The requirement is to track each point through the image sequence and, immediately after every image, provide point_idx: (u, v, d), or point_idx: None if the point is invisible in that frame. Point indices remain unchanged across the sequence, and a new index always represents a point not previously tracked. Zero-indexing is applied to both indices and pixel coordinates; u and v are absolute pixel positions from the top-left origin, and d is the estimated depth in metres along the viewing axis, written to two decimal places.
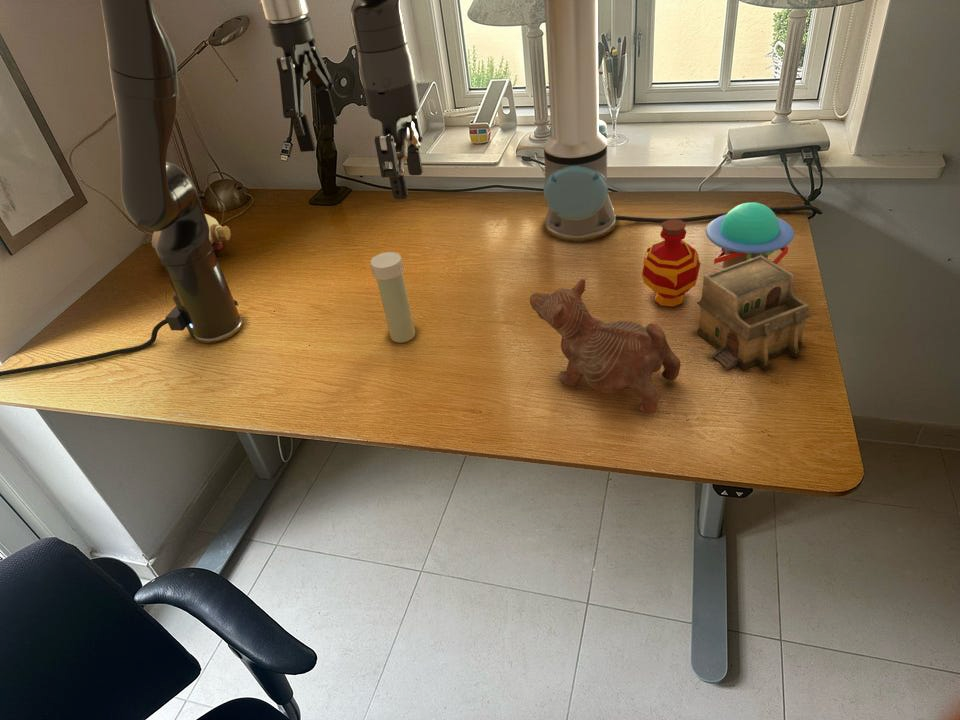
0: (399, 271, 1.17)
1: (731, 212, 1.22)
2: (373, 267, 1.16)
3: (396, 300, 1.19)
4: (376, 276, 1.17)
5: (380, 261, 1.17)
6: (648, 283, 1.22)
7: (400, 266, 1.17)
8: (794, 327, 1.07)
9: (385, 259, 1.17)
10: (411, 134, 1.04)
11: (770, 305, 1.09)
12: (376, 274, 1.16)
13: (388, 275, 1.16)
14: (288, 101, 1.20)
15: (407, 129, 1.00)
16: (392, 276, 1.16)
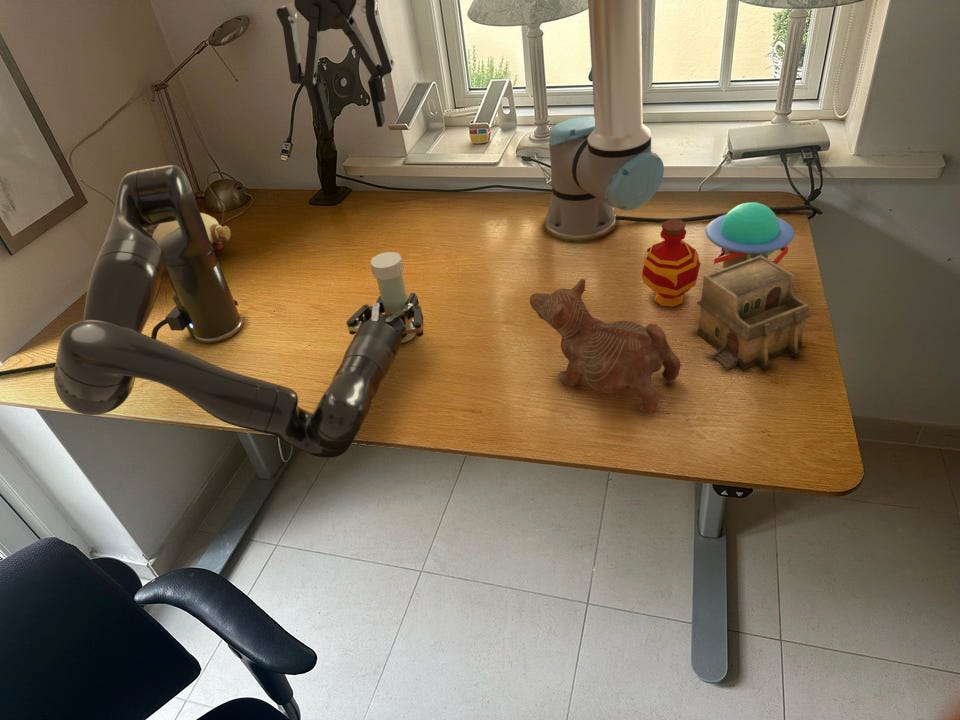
0: (399, 271, 1.17)
1: (731, 212, 1.22)
2: (373, 267, 1.16)
3: (396, 300, 1.19)
4: (376, 276, 1.17)
5: (380, 261, 1.17)
6: (648, 283, 1.22)
7: (400, 266, 1.17)
8: (794, 327, 1.07)
9: (385, 259, 1.17)
10: None
11: (770, 305, 1.09)
12: (376, 274, 1.16)
13: (388, 275, 1.16)
14: None
15: (389, 320, 1.16)
16: (392, 276, 1.16)
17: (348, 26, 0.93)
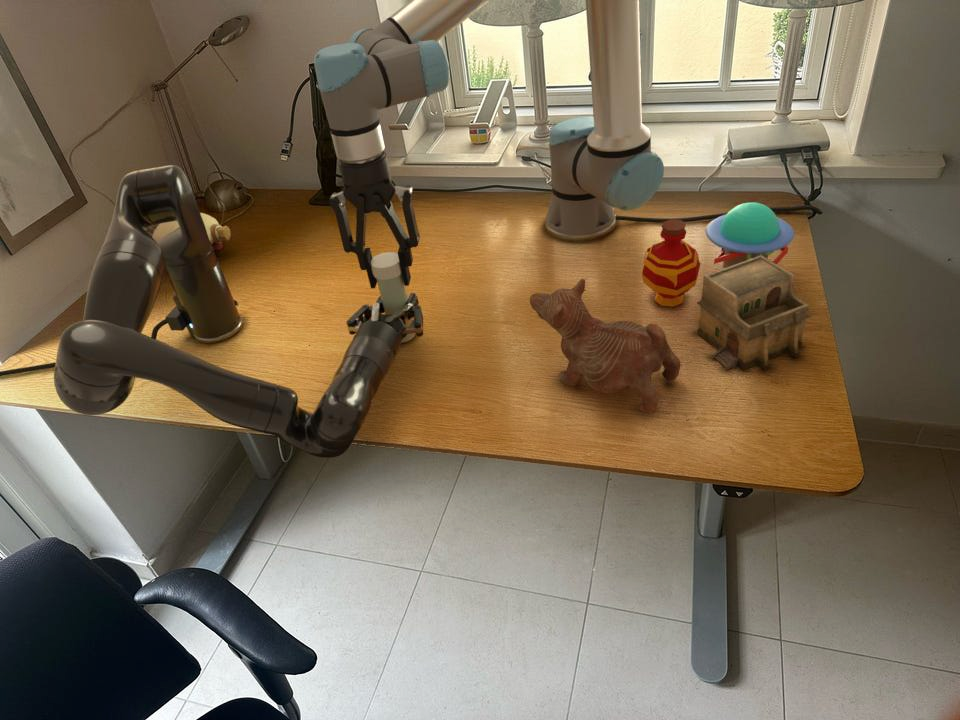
0: (399, 271, 1.17)
1: (731, 212, 1.22)
2: (373, 267, 1.16)
3: (396, 300, 1.19)
4: (376, 276, 1.17)
5: (380, 261, 1.17)
6: (648, 283, 1.22)
7: None
8: (794, 327, 1.07)
9: (385, 259, 1.17)
10: None
11: (770, 305, 1.09)
12: (376, 274, 1.16)
13: (388, 275, 1.16)
14: None
15: (389, 321, 1.16)
16: (392, 276, 1.16)
17: (386, 212, 1.09)
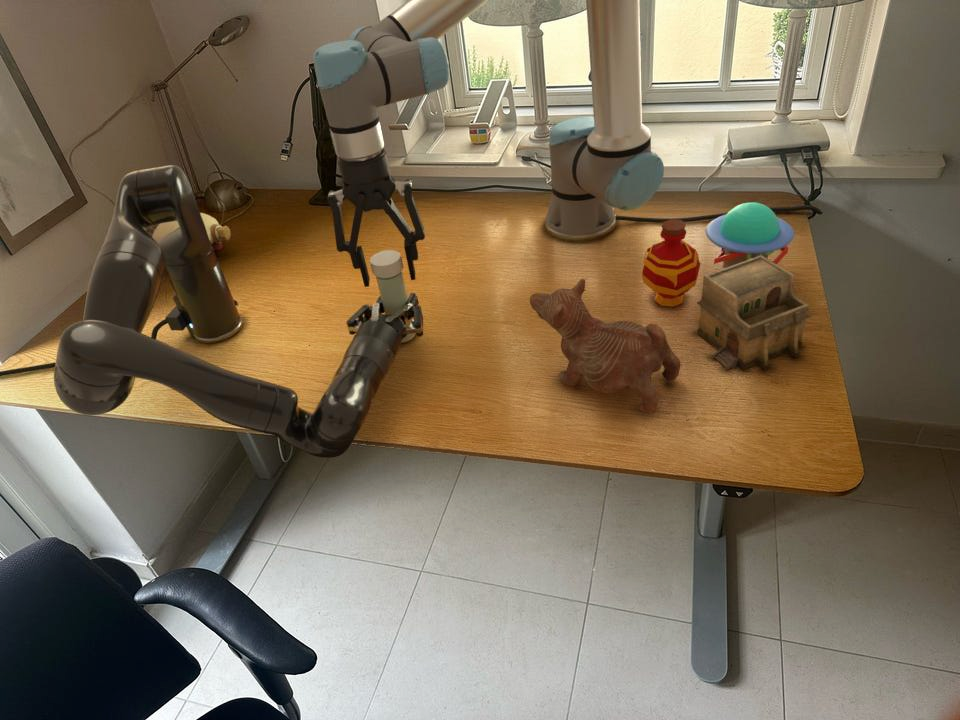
0: None
1: (731, 212, 1.22)
2: (397, 262, 1.16)
3: (396, 300, 1.19)
4: (400, 269, 1.17)
5: (388, 259, 1.16)
6: (648, 283, 1.22)
7: None
8: (794, 327, 1.07)
9: (384, 258, 1.17)
10: None
11: (770, 305, 1.09)
12: (400, 266, 1.17)
13: None
14: None
15: (389, 321, 1.15)
16: None
17: (389, 208, 1.09)
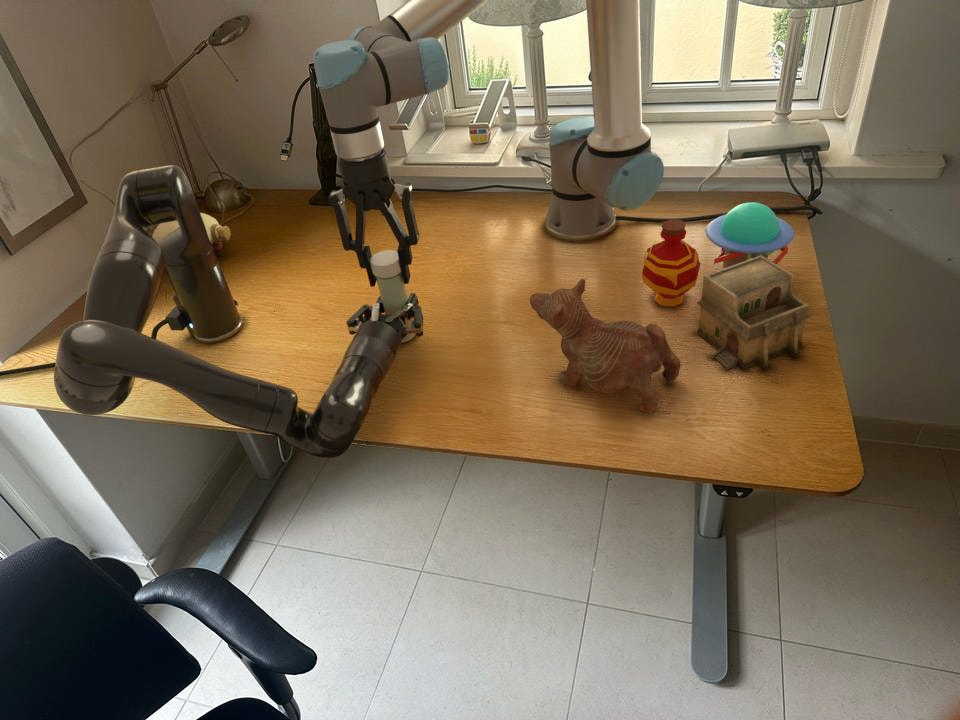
0: None
1: (731, 212, 1.22)
2: (397, 262, 1.16)
3: (396, 300, 1.19)
4: (400, 269, 1.17)
5: (388, 259, 1.16)
6: (648, 283, 1.22)
7: None
8: (794, 327, 1.07)
9: (384, 258, 1.17)
10: None
11: (770, 305, 1.09)
12: None
13: None
14: None
15: (389, 321, 1.15)
16: None
17: (386, 210, 1.09)
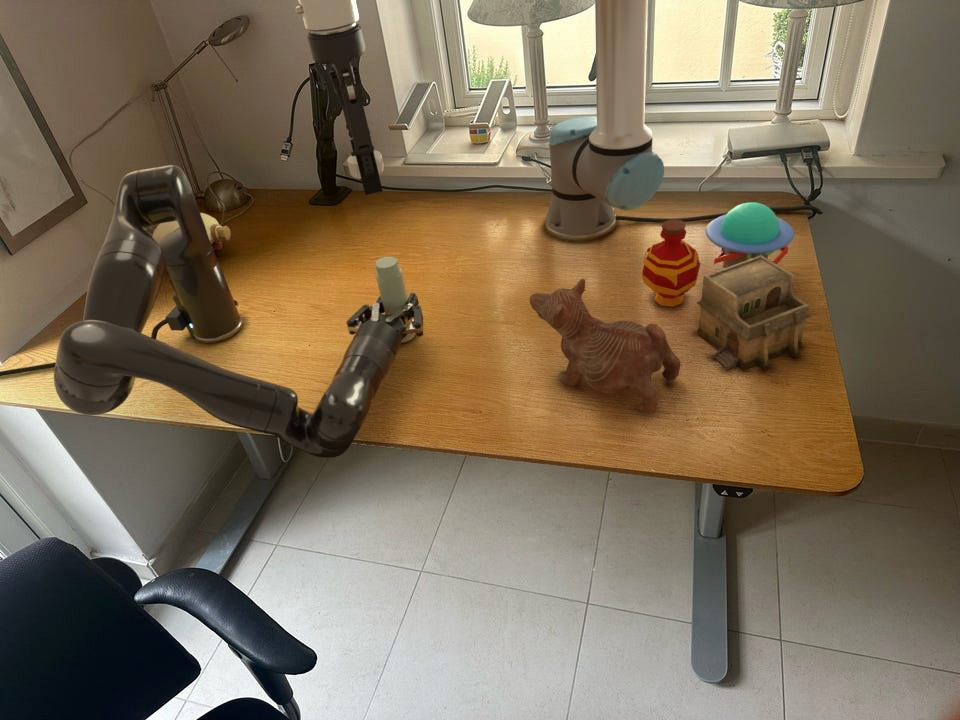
0: None
1: (731, 212, 1.22)
2: None
3: (396, 300, 1.19)
4: None
5: None
6: (648, 283, 1.22)
7: (348, 166, 1.06)
8: (794, 327, 1.07)
9: None
10: None
11: (770, 305, 1.09)
12: None
13: None
14: (361, 137, 0.98)
15: (389, 320, 1.15)
16: None
17: None
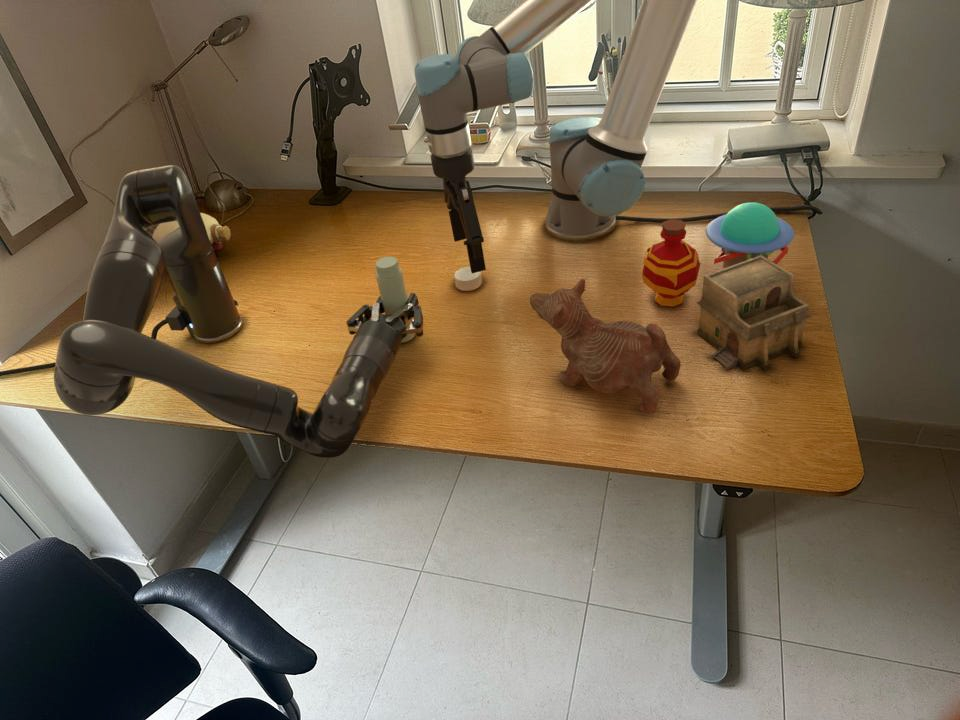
0: (455, 282, 1.38)
1: (731, 212, 1.22)
2: (470, 268, 1.39)
3: (396, 300, 1.19)
4: None
5: (469, 271, 1.37)
6: (648, 283, 1.22)
7: (455, 280, 1.37)
8: (794, 327, 1.07)
9: (467, 273, 1.37)
10: None
11: (770, 305, 1.09)
12: None
13: None
14: (474, 229, 1.21)
15: (389, 320, 1.15)
16: None
17: None
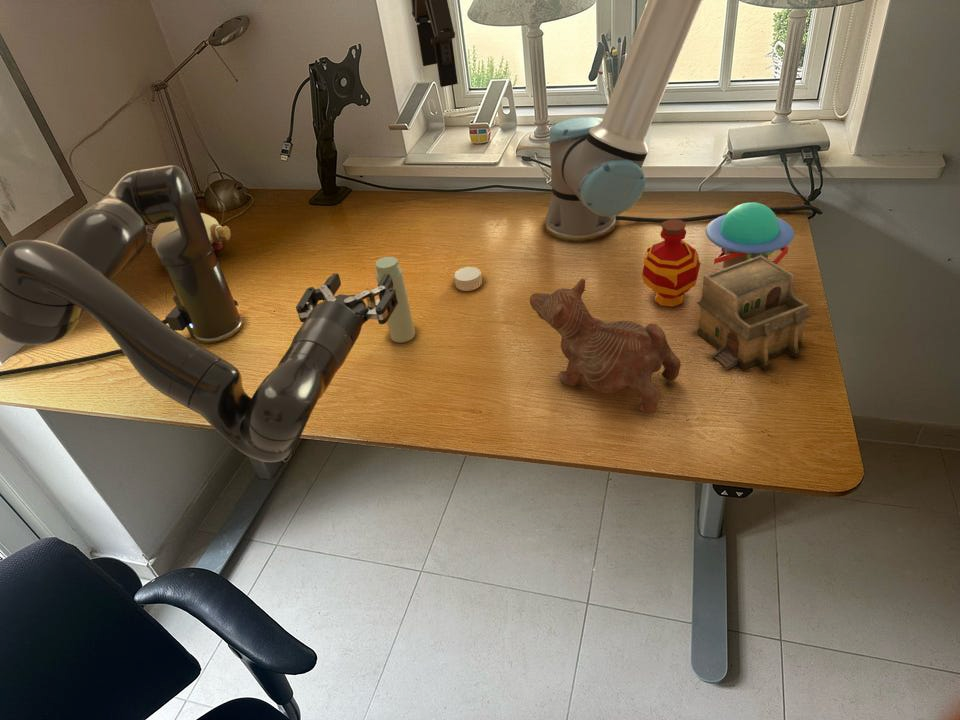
0: (455, 282, 1.38)
1: (731, 212, 1.22)
2: None
3: None
4: None
5: (469, 271, 1.37)
6: (648, 283, 1.22)
7: (455, 280, 1.37)
8: (794, 327, 1.07)
9: (467, 273, 1.37)
10: None
11: (770, 305, 1.09)
12: None
13: None
14: (443, 19, 1.00)
15: (347, 301, 0.99)
16: None
17: None
